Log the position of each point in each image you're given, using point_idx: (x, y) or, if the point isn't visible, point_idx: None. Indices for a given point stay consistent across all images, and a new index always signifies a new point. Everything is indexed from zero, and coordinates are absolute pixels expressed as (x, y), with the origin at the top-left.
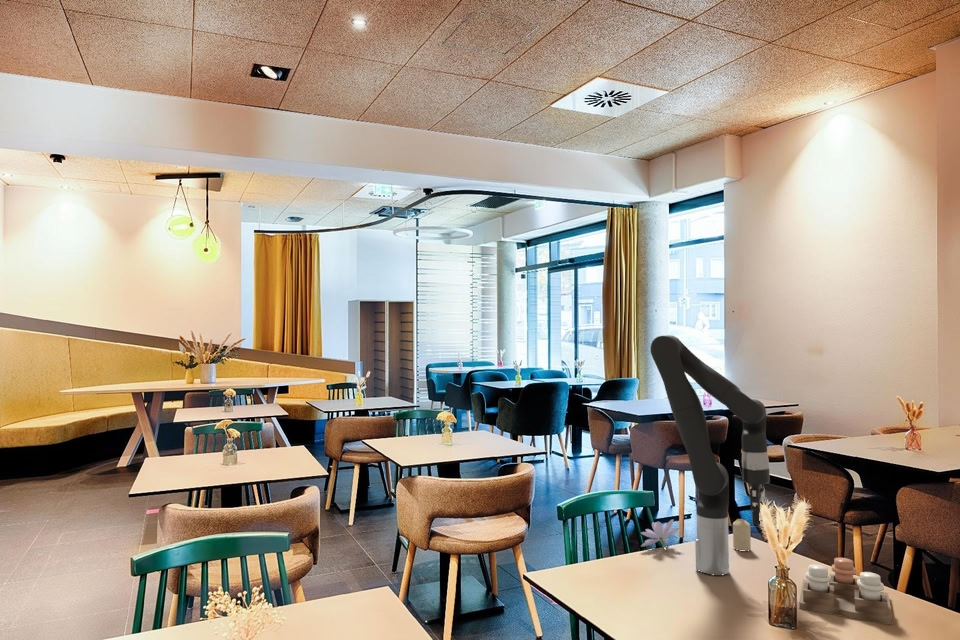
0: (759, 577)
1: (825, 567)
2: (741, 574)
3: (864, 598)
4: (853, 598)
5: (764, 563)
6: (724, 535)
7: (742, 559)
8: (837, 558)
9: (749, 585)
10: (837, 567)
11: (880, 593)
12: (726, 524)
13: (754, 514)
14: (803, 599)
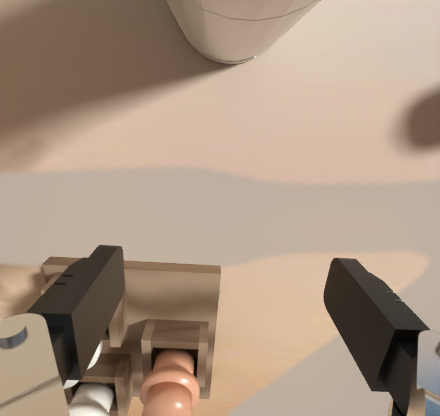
0: (229, 164)
1: (66, 385)
2: (235, 108)
3: (79, 386)
4: (141, 353)
5: (367, 173)
6: (183, 10)
7: (394, 102)
8: (177, 408)
9: (144, 138)
10: (151, 389)
11: (125, 410)
12: (205, 2)
13: (35, 313)
14: (54, 275)
